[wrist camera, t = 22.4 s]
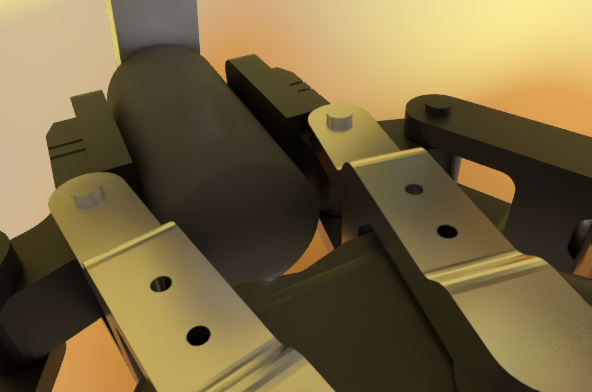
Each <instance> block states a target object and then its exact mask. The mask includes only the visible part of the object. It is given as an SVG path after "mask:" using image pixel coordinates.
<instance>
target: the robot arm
mask: <svg viewBox="0 0 592 392" xmlns="http://www.w3.org/2000/svg"><path fill="white" fill-rule="evenodd" d="M225 71H226V78H227V85H228V86H229V87H230V88H231V89H232V91H233V92H234V93H235V94H236V95H237V96H238V98H239V99H240V100H241V101H242V102H243V104H244V105H245V106H246V107H247V108H248V109H249V111H250V112H251V113H252V114H253V115H254V117H255V118H256V119H257V120H258V121H259V123H260V124H261V125H262V126H263V127H264V128H265V130H266V131H267V132H268V133H269V134H270V136H271V137H272V138H273V139H274V140H275V141H276V143H277V144H278V145H279V146H280V147H281V149H282V150H283V151H284V152H285V153H286V154H287V156H288V157H289V158H290V159H291V160H292V162H293V163H294V164H295V165H296V166H297V167H298V169H299V170H300V171H301V172H302V173H303V175H304V176H305V177H306V178H307V179H308V181H309V182H310V183H311V184H312V186H313V188H314V189H315V191H316V194H317V197H318V200H319V207H320V211H319V221H318V226H317V230H318V232H319V234H320V237H321V238H322V241H323V243H324V245H325V247H326V249H327V251H328V253H329V254H327V255H326V256H324V257H323V258H321V259H320V260H318V261H317V262H316V263H314V264H313V265H311V266H310V267H308V268H307V269H305V270H304V271H301V272H298V273H293V274H287V275H282V276H276V277H271V278H265V279H260V280H255V281H249V282H244V283H240V284H238V285H235V286H232V287H230V285H229V284H228V283H227V282H226V281H225V280H224V278H223V277H222V276H221V275H220V274H219V273H218V272H217V270H216V269H215V268H214V267H213V266H212V265H211V264H210V262H209V261H208V260H207V259H206V258H205V257H204V256H203V254H202V253H201V252H200V251H199V250H198V249H197V247H196V246H195V245H194V244H193V243H192V242H191V241H190V239H189V238H188V237H187V236H186V235H185V234H184V233H183V231H182V230H181V229H180V228H179V227H178V226H177V225H176V224H175V223H174V222H172V221H169V222H167V223H165V224H162V225H161V224H160V223H159V221H158V220H157V219H156V218H155V217H154V215H153V214H152V213H151V212H150V211H149V209H148V208H147V207H146V206H145V204H144V198H143V194H142V191H141V188H140V184H139V181H138V178H137V175H136V171H135V168H134V165H133V162H132V159H131V157H130V155H129V152H128V150H127V148H126V145H125V143H124V141H123V138H122V136H121V134H120V131H119V129H118V127H117V124H116V122H115V120H114V117H113V115H112V113H111V110H110V108H109V106H108V103H107V101H106V99H105V96H104V94H103V92H102V90H98V91H94V92H90V93H85V94H81V95H77V96H73V97H70V98H71V101H72V105H73V108H74V111H75V115H76V118H72V119H68V120H64V121H60V122H56V123H53V125H52V126H51V128H50V130H49V131H48V133H47V135H46V140H47V146H48V149H49V156H50V161H51V167H52V172H53V178H54V183H55V188H56V190H55V191H54V192H53V194H52V195H51V197H50V198H49V202H48V207H49V210H50V212H51V213H50V214H49V216H47V218H45V219H44V220H43V221H42V222H41V223H39V224H38V225H36V226H35V227H34V228H32V229H30V230H28V231H26V232H24V233H23V234H21V235H19V236H17V237H15V238H13V239H11V240H9V238H8V237H7V235H6V234H5V233H3V232H1V231H0V392H52V389H53V386H54V384H55V380H56V378H57V375H58V372H59V370H60V367H61V364H62V361H63V358H64V355H65V351H66V341H67V340H69V339H70V338H72V337H73V336H75V335H76V334H77V333H79V332H80V331H82V330H83V329H85V328H86V327H88V326H89V325H91V324H92V323H94V322H95V321H97V320H98V319H99V318H101V320H102V321H103V323H104V325H105V327H106V329H107V330H108V332H109V334H110V336H111V338H112V340H113V341H114V343H115V345H116V347H117V349H118V351H119V352H120V354H121V356H122V358H123V360H124V361H125V363H126V365H127V367H128V369H129V371H130V373H131V374H132V376H133V378H134V380H135V382H136V384H137V385H136V388H135V390H134V392H592V137H589V136H585V135H581V134H578V133H575V132H571V131H568V130H565V129H561V128H558V127H554V126H551V125H547V124H544V123H541V122H537V121H534V120H530V119H527V118H523V117H520V116H516V115H513V114H509V113H506V112H503V111H499V110H496V109H492V108H489V107H485V106H482V105H479V104H475V103H472V102H468V101H464V100H461V99H458V98H454V97H451V96H446V95H438V94H431V95H422V96H418V97H415V98H413V99H412V100H410V101H409V102H408V103H407V105H406V110H405V119H396V120H385V121H375V119H374V118H373V117H372V116H371V115H370V113H369V112H368V111H366V110H365V109H363V108H361V107H359V106H356V105H352V104H342V103H341V104H340V103H338V104H330V103H329V102H328V101H327V100H325V99H324V98H323V97H322V96H321V95H319V94H318V93H317V92H316V91H315V90H313V89H311V87H310V86H308V85H307V84H306V83H305V82H304V83H303V81H302V80H301V79H300V78H299V77H298V76H296V75H295V74H294V73H293V72H290V71H287V70H284V69H281V68H278V67H276V68H272V69H271V68H270V67H269V66H268V65H267V64H265V63H264V62H263V61H262V60H261V59H260V58H259V57H258V56H256V55H255V54H251V55H247V56H243V57H238V58H234V59H230V60H227V61H226V64H225ZM462 158H465V159H467V160H470V161H473V162H476V163H478V164H481V165H484V166H487V167H490V168H492V169H495V170H498V171H501V172H503V173H505V174H507V175H508V176H509V177H510V178H511V179H512V180H513V182H514V184H515V194H514V198H513V201H512V204H510V203H508V202H505V201H503V200H500V199H497V198H495V197H492V196H490V195H487V194H484V193H482V192H479V191H477V190H474V189H471V188H469V187H466V186H464V185H461V184H459V183H457V179H458V175H459V169H460V165H461V159H462Z"/></svg>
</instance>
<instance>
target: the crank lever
mask: <svg viewBox="0 0 592 392" xmlns="http://www.w3.org/2000/svg"><path fill="white" fill-rule="evenodd" d="M105 2H106V8H107V14H108V19H109V25H110V31H111V37H112V42H113V48H114V54H115V59H116V66H117V70H116V71H115V73H114V74H113V76H112V78H111V81H110V84H109V88H108V93H107V103H108V106H109V108H110V110H111V113H112V115H113V117H114V120H115V122H116V124H117V127H118V129H119V131H120V134H121V136H122V138H123V141H124V143H125V145H126V148H127V150H128V152H129V155H130V157H131V159H132V162H133V165H134V168H135V171H136V175H137V178H138V181H139V184H140V188H141V191H142V194H143V198H144V204H145V206H146V207H147V208H148V209H149V211H150V212H151V213H152V214H153V215H154V217H155V218H156V219H157V220H158V221H159V223H160V224H161V225H162V224H165V223H167V222H169V221H172V222H174V223H175V224H176V225H177V226H178V227H179V228H180V229H181V230H182V231H183V233H184V234H185V235H186V236H187V237H188V238H189V239H190V241H191V242H192V243H193V244H194V245H195V246H196V247H197V249H198V250H199V251H200V252H201V253H202V254H203V256H204V257H205V258H206V259H207V260H208V261H209V262H210V264H211V265H212V266H213V267H214V268H215V269H216V270H217V272H218V273H219V274H220V275H221V276H222V277H223V278H224V280H225V281H226V282H227V283H228V284H229V285H230V287H232V286H235V285H238V284H240V283H244V282H249V281H255V280H260V279H265V278H271V277H276V276H281V275H282V274H284V273H285V272H286V271H287V270H289V269H290V268H291V267H292V266H293V265H294V264H295V263H296V262H297V261H298V260H299V258H300V257H301V256H302V255H303V253H304V252H305V251H306V249H307V248H308V246H309V244H310V243H311V241H312V239H313V237H314V235H315V232H316V229H317V226H318V221H319V211H320V207H319V200H318V197H317V194H316V191H315V189H314V188H313V186H312V184H311V183H310V182H309V181H308V179H307V178H306V177H305V176H304V175H303V173H302V172H301V171H300V170H299V169H298V167H297V166H296V165H295V164H294V163H293V162H292V160H291V159H290V158H289V157H288V156H287V154H286V153H285V152H284V151H283V150H282V149H281V147H280V146H279V145H278V144H277V143H276V141H275V140H274V139H273V138H272V137H271V136H270V134H269V133H268V132H267V131H266V130H265V128H264V127H263V126H262V125H261V124H260V123H259V121H258V120H257V119H256V118H255V117H254V115H253V114H252V113H251V112H250V111H249V109H248V108H247V107H246V106H245V105H244V104H243V102H242V101H241V100H240V99H239V98H238V96H237V95H236V94H235V93H234V92H233V91H232V89H231V88H230V87H229V86H228V85H227V83H226V82H225V81H224V80H223V79H222V78H221V76H220V75H219V74H218V73H217V72H216V70H214V68H213V67H212V66H211V65H210V63H209V62H208V61H207V60H206V59H205V58H204V57H203V56H201V55H200V45H199V32H198V31H199V30H198V16H197V2H196V0H105Z"/></svg>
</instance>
